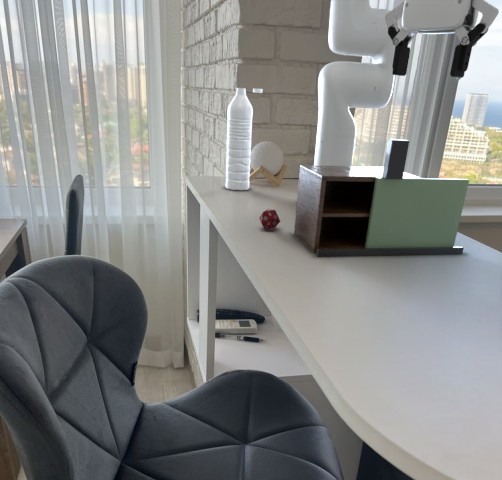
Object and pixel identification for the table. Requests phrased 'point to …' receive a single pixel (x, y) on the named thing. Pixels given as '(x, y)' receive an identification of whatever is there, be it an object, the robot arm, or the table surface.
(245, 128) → the water bottle
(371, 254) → the cabinet
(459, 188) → the sliding door
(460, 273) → the table surface
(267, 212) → the dice
